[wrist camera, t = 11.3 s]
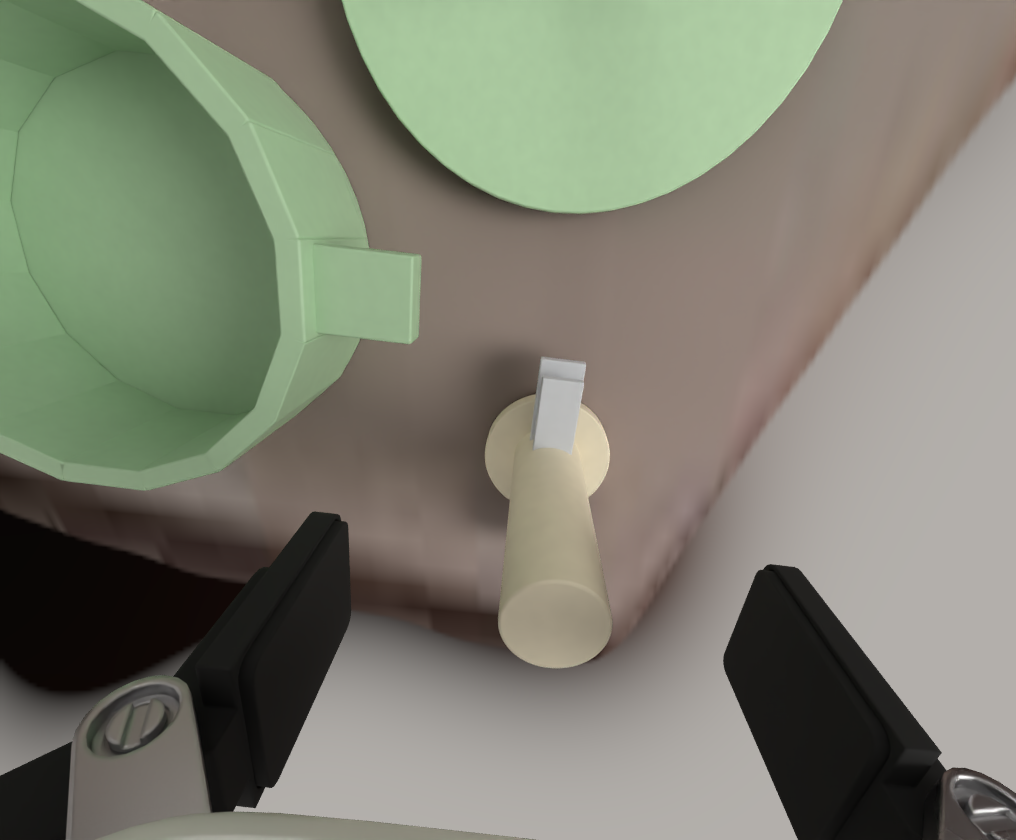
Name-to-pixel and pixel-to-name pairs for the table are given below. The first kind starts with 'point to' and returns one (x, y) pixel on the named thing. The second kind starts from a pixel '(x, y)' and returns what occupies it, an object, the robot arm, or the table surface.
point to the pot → (168, 250)
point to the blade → (551, 520)
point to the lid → (585, 87)
